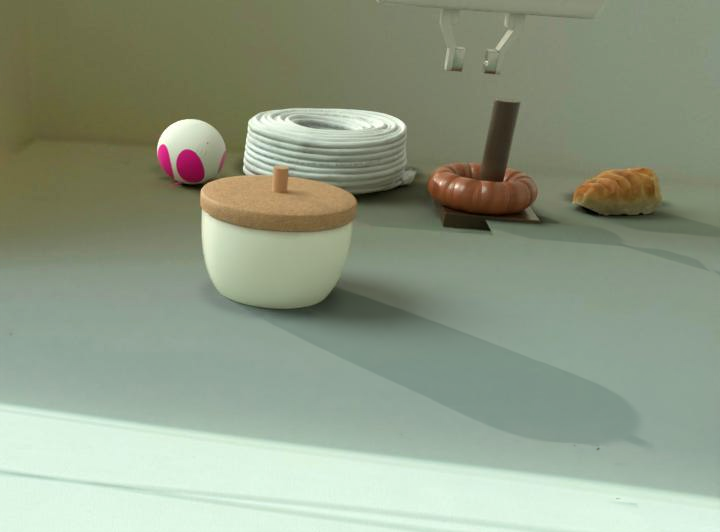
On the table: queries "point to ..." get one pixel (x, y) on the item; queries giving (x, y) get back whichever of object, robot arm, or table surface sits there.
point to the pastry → (620, 192)
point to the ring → (481, 190)
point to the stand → (492, 169)
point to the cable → (330, 147)
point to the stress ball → (191, 151)
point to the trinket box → (275, 238)
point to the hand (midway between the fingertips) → (471, 72)
